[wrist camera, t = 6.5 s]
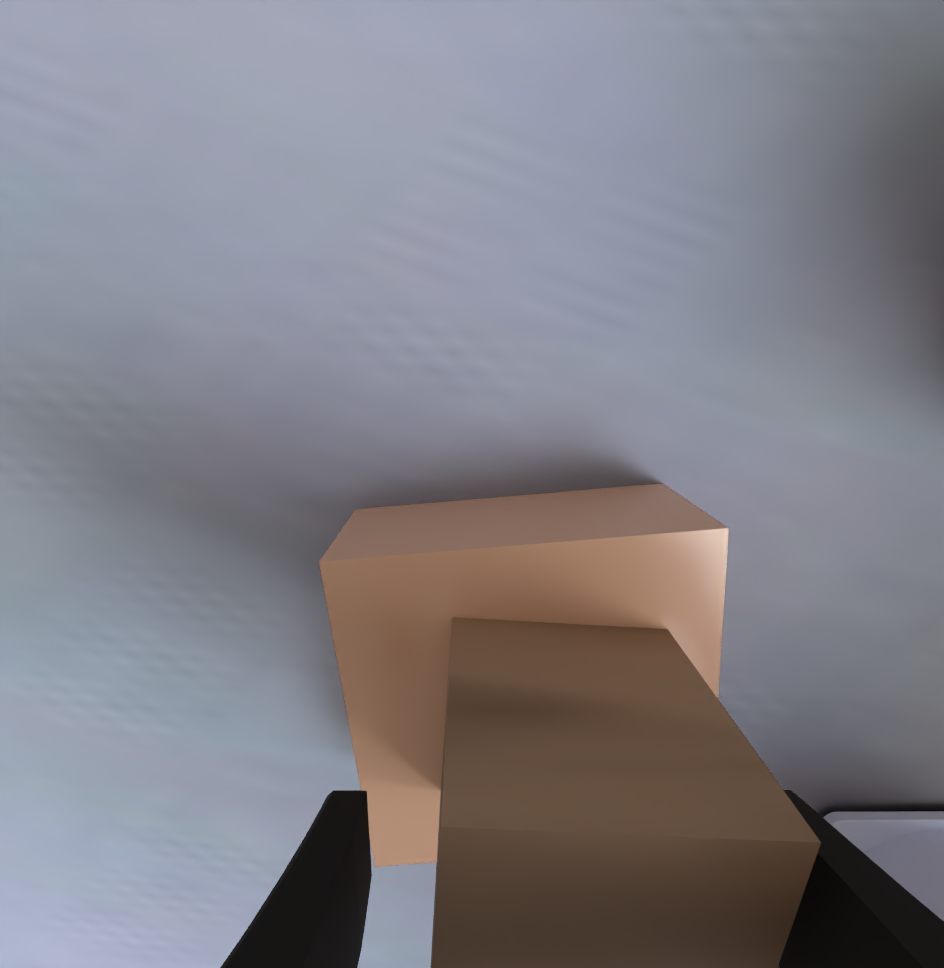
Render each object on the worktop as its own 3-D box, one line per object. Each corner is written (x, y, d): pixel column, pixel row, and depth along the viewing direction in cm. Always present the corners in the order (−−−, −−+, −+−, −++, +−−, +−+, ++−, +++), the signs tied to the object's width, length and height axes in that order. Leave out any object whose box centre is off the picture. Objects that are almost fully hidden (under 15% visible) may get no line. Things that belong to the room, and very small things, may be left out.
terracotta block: (652, 728, 17) (708, 842, 13) (395, 748, 17) (375, 866, 13) (658, 480, 14) (728, 528, 11) (358, 504, 14) (318, 561, 11)
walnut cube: (633, 798, 13) (737, 1079, 8) (440, 790, 12) (424, 1072, 8) (668, 629, 11) (821, 842, 6) (451, 617, 11) (441, 827, 6)
